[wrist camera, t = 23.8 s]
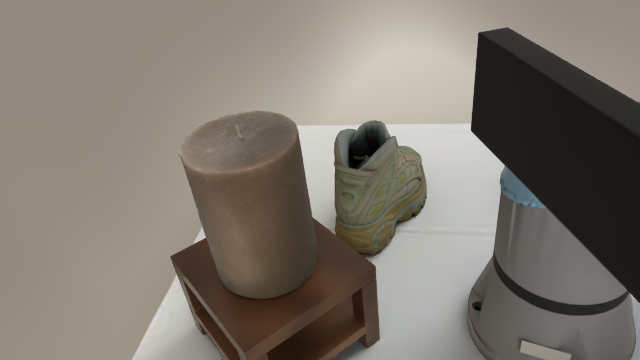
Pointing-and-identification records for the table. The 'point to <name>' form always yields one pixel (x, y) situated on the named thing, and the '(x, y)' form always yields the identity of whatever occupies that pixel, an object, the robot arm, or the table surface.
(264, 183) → the pillar candle
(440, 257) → the table surface
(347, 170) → the sneaker
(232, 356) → the shelf rack
